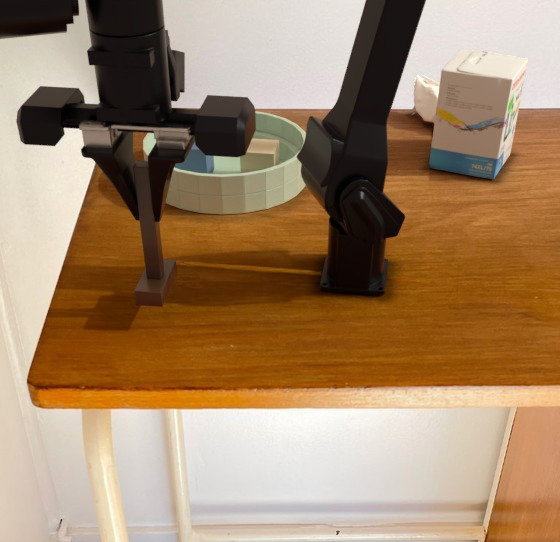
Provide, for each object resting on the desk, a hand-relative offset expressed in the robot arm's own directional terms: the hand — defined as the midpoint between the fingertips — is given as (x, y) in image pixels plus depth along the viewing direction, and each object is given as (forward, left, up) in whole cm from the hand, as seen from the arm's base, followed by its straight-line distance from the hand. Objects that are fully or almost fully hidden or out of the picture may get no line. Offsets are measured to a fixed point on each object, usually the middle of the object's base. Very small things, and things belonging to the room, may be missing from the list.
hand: (149, 219), depth 75 cm
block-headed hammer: (0, 0, -7) cm, 7 cm away
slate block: (+29, +3, -9) cm, 31 cm away
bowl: (+29, -1, -10) cm, 31 cm away
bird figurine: (+50, -26, -10) cm, 57 cm away
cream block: (+29, -5, -9) cm, 31 cm away
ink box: (+39, -30, -10) cm, 50 cm away
